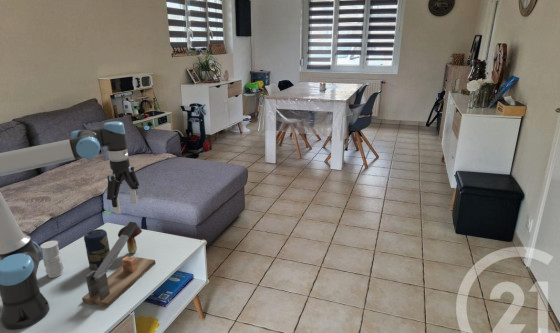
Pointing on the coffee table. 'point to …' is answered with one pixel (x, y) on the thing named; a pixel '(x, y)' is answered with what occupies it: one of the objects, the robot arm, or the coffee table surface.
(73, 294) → the coffee table surface
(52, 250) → the white ribbed cylinder
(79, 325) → the coffee table surface
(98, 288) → the base
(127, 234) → the lever
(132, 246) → the decorative mushroom
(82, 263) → the coffee table surface
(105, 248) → the canister
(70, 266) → the coffee table surface
